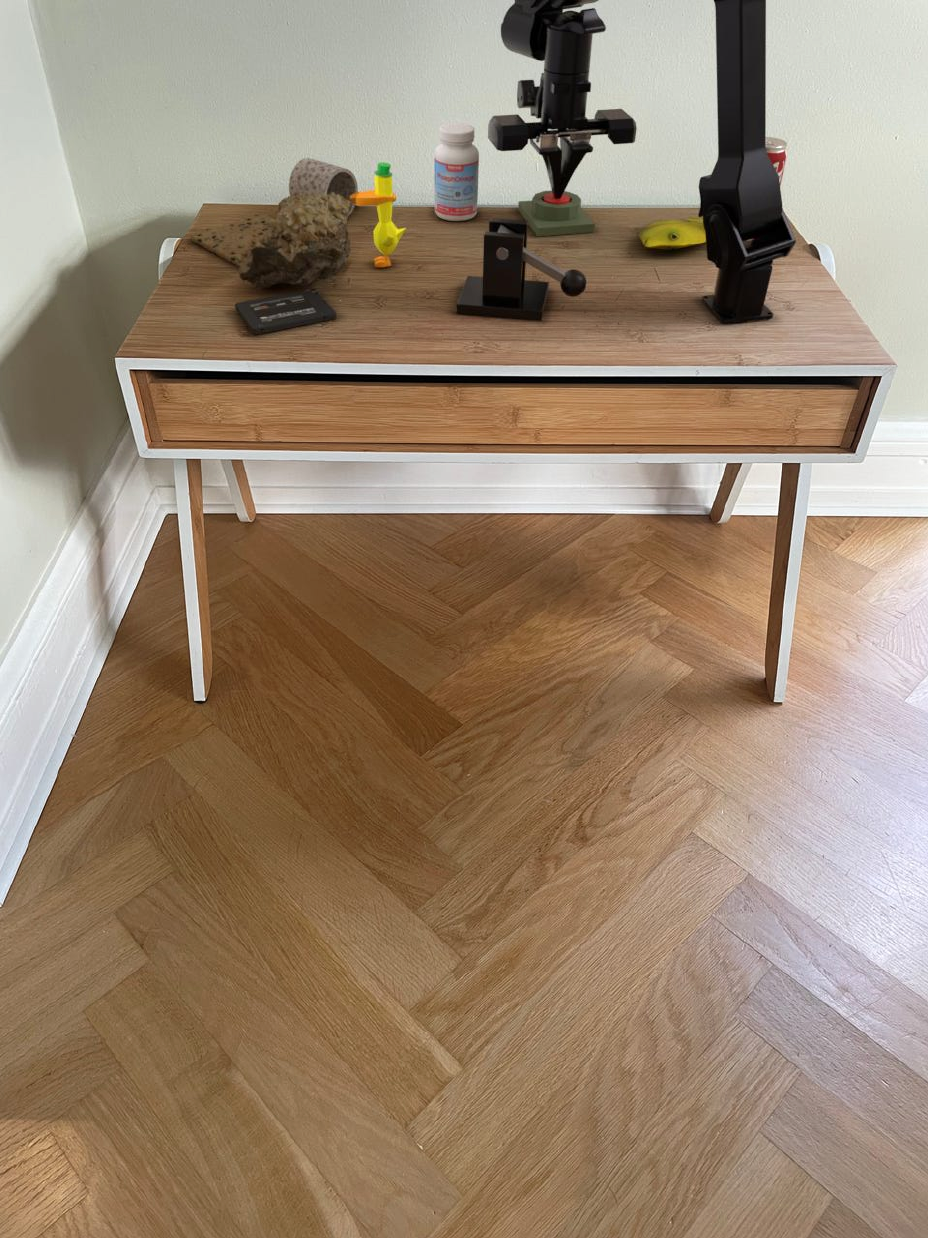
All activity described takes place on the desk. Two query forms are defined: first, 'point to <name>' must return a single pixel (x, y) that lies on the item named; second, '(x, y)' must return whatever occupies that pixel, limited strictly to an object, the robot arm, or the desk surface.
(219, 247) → the cookie
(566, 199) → the button
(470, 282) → the bracket
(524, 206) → the button block
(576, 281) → the lever
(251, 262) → the mineral specimen
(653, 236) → the fish
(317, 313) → the solid state drive
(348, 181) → the speckled mug
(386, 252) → the toy figure
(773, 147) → the soda can
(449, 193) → the pill bottle
